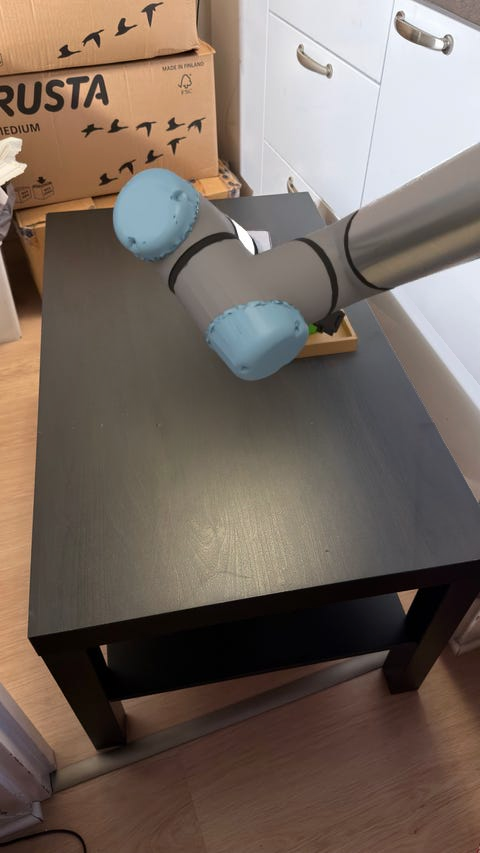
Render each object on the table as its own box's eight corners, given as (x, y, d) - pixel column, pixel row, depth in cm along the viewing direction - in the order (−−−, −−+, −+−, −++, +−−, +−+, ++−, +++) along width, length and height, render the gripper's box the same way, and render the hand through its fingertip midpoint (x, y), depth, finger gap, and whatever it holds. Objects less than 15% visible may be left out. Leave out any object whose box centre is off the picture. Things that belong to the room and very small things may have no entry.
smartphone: (269, 229, 109) (277, 279, 99) (269, 234, 110) (277, 284, 100) (228, 229, 109) (232, 279, 99) (228, 234, 109) (232, 284, 99)
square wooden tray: (355, 350, 89) (357, 338, 87) (272, 361, 87) (273, 349, 86) (330, 300, 97) (332, 287, 95) (254, 308, 95) (254, 296, 94)
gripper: (121, 254, 71) (206, 299, 90) (309, 340, 61) (359, 369, 80) (148, 191, 69) (228, 250, 89) (343, 268, 60) (385, 315, 79)
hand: (290, 307), depth 85 cm, fingers open, 13 cm apart
